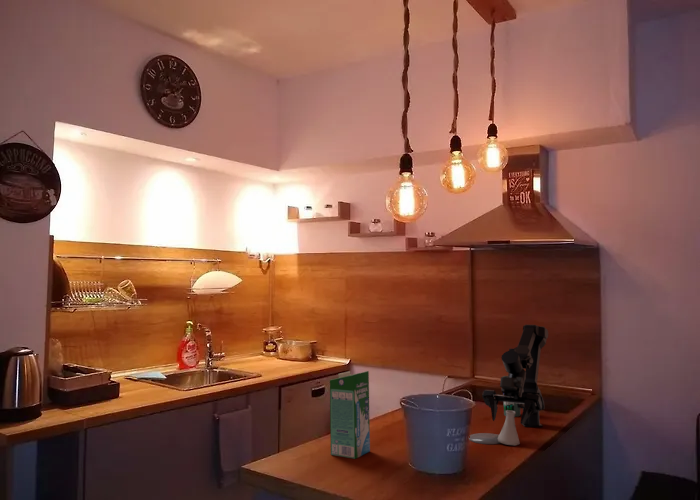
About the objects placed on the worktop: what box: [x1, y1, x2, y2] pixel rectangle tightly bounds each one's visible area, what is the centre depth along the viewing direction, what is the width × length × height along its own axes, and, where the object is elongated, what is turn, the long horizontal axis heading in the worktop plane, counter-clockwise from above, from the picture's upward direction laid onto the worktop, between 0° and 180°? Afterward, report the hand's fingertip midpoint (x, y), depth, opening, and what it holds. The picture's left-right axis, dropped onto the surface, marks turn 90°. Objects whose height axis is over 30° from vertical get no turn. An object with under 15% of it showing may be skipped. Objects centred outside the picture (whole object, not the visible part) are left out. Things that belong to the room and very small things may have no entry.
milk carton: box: [329, 370, 371, 460], centre depth 171 cm, size 9×9×25 cm
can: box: [502, 375, 522, 418], centre depth 220 cm, size 6×6×15 cm
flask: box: [498, 410, 521, 446], centre depth 179 cm, size 7×7×10 cm
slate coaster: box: [468, 432, 502, 445], centre depth 184 cm, size 12×12×1 cm
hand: (507, 421), depth 178 cm, fingers open, 9 cm apart
